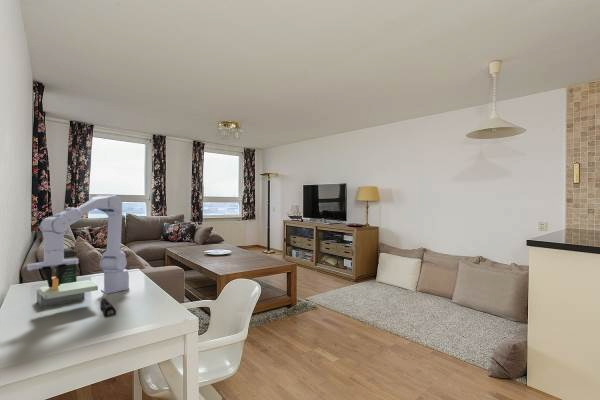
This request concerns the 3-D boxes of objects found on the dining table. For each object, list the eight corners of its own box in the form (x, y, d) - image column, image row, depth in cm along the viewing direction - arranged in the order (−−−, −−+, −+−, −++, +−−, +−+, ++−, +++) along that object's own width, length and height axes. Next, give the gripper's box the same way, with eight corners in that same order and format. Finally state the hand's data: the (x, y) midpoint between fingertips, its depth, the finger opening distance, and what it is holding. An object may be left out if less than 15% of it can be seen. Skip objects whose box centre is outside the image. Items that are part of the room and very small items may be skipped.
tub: (78, 293, 133) (78, 282, 132) (84, 298, 126) (84, 287, 126) (36, 301, 122) (36, 289, 122) (40, 308, 115) (40, 295, 115)
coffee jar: (78, 288, 140) (78, 249, 140) (57, 292, 134) (56, 251, 134) (73, 284, 147) (73, 246, 146) (53, 287, 141) (53, 248, 140)
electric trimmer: (109, 304, 121) (109, 296, 121) (116, 315, 110) (116, 306, 110) (98, 306, 119) (98, 298, 119) (104, 318, 107) (104, 309, 107)
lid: (88, 284, 124) (89, 270, 124) (97, 290, 116) (98, 275, 116) (38, 292, 112) (39, 276, 112) (44, 299, 104) (45, 282, 104)
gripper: (75, 245, 118) (75, 279, 119) (25, 250, 107) (26, 288, 108) (79, 248, 114) (80, 283, 114) (29, 253, 103) (29, 292, 103)
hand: (54, 286), depth 110 cm, fingers closed on lid
